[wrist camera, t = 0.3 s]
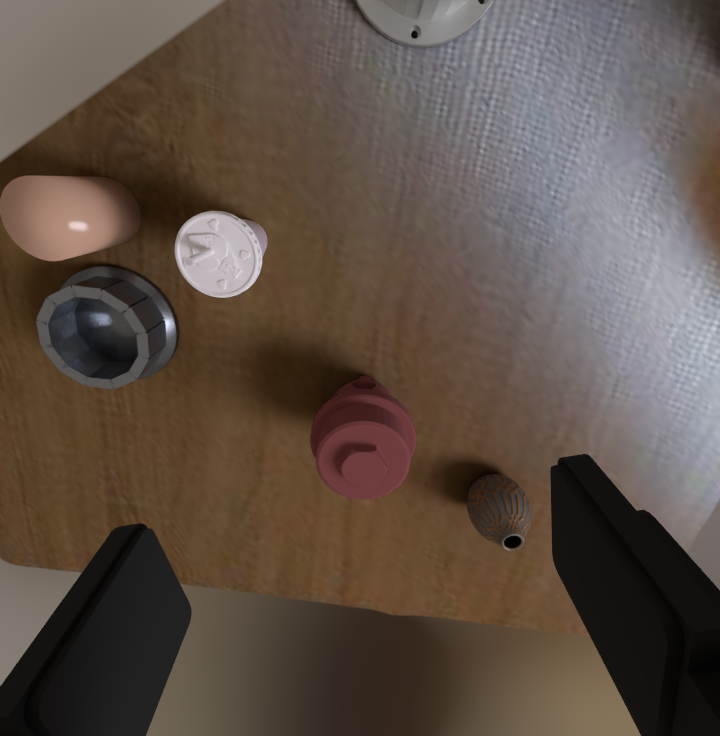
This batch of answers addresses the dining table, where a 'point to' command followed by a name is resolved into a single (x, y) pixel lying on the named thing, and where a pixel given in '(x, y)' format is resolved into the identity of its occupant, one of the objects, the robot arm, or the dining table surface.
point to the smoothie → (220, 253)
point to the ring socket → (108, 327)
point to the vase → (499, 510)
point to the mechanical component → (363, 440)
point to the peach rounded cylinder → (68, 215)
